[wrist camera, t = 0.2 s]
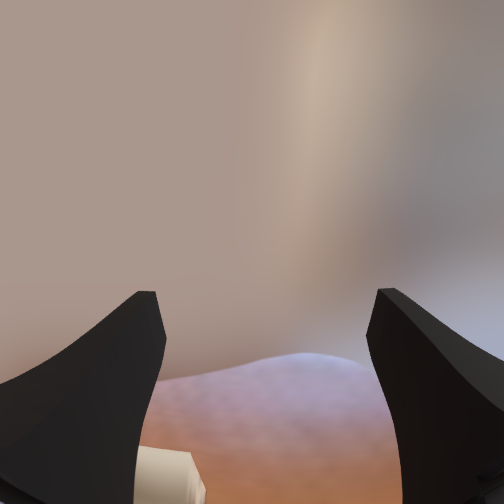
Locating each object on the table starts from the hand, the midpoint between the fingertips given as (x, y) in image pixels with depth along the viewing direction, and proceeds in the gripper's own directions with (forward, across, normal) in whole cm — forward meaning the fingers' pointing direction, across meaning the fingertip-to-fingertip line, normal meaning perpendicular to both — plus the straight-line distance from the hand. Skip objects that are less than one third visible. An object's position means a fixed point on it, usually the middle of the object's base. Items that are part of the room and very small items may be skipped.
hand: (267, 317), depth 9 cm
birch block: (-4, +7, +21) cm, 22 cm away
